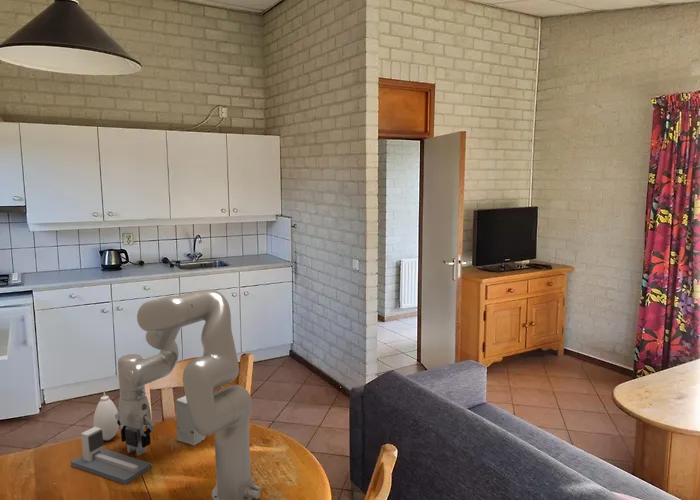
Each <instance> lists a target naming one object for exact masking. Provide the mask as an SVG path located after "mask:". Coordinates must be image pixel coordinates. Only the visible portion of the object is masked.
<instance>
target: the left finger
mask: <svg viewBox="0 0 700 500" xmlns="http://www.w3.org/2000/svg"><path fill="white" fill-rule="evenodd" d="M143 429H144V430H145V427H144V428H143ZM141 436H143V435H142V434H141V432H140V430H139V429H135V428H132V427H128V426H127V427H126V429H125V438H126V441H125V445H126V447H127V453H128V454H130V453H133V452H134V451H135V452H136V454H135V455H136V456H141V455H142V454H145V453H146V452H147V448H146V447H147V446H146V447H144V448H142V444H141Z"/></svg>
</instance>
